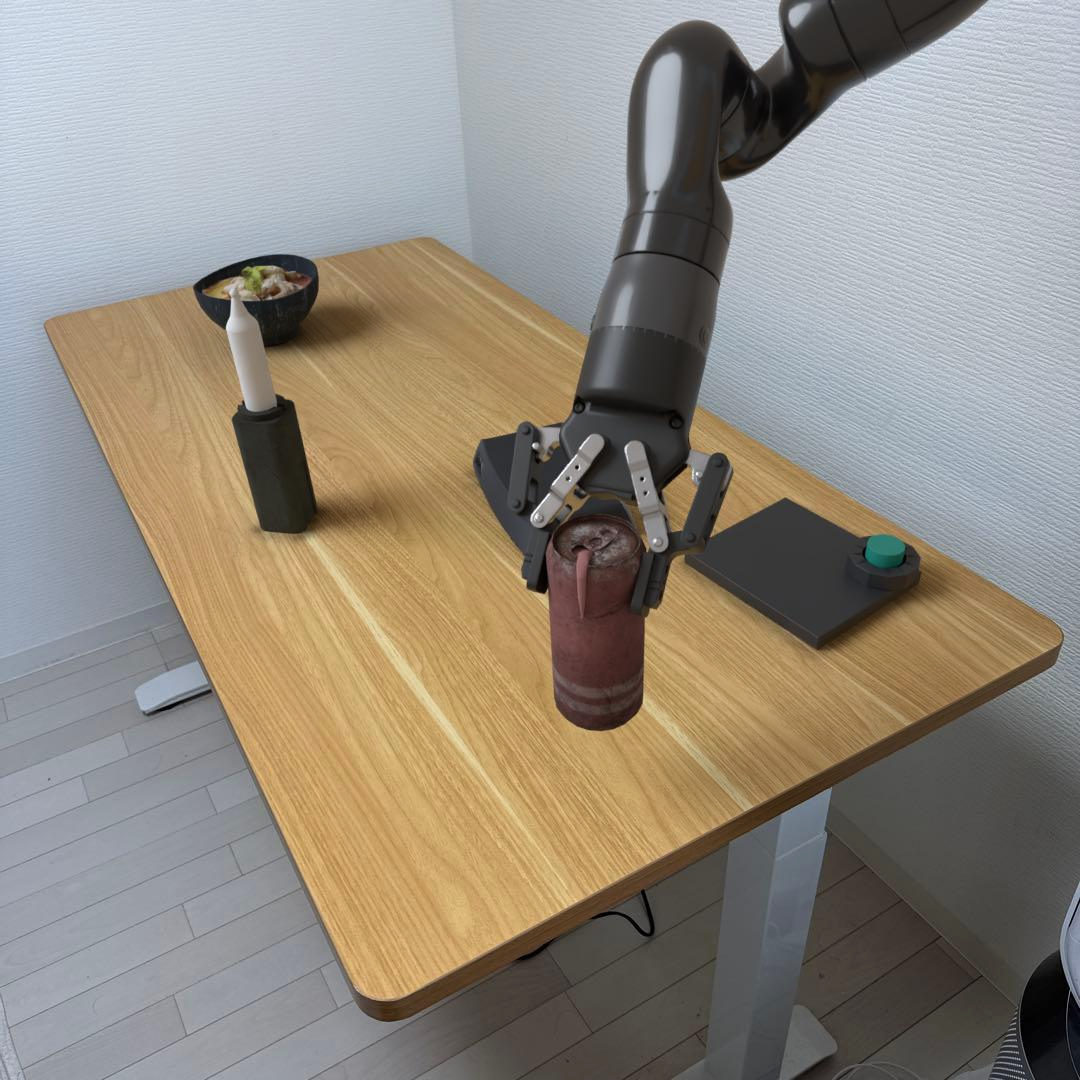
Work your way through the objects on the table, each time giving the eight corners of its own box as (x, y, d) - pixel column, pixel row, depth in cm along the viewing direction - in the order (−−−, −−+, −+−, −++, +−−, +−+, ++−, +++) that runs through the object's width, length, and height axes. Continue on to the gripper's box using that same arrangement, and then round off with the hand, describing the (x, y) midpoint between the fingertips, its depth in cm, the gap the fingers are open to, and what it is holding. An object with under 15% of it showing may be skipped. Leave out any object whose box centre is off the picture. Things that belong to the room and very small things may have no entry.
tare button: (909, 559, 86) (913, 545, 85) (887, 573, 84) (890, 559, 84) (880, 543, 88) (882, 529, 87) (857, 557, 87) (860, 543, 86)
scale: (928, 583, 87) (934, 557, 85) (821, 654, 80) (826, 626, 79) (787, 506, 98) (791, 481, 96) (683, 562, 91) (685, 536, 90)
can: (547, 733, 64) (537, 567, 56) (561, 667, 69) (553, 506, 61) (639, 741, 63) (641, 574, 55) (646, 674, 68) (649, 511, 60)
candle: (277, 503, 103) (220, 277, 88) (321, 506, 102) (271, 279, 88) (256, 530, 99) (193, 299, 84) (302, 534, 98) (246, 301, 84)
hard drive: (576, 443, 110) (575, 411, 108) (645, 534, 95) (645, 500, 93) (466, 467, 107) (463, 435, 105) (520, 565, 92) (517, 530, 90)
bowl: (183, 344, 138) (164, 277, 132) (272, 303, 149) (258, 240, 143) (264, 371, 130) (247, 300, 124) (352, 325, 141) (341, 258, 135)
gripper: (768, 380, 62) (709, 635, 60) (560, 352, 67) (501, 586, 65) (756, 336, 55) (689, 623, 53) (525, 308, 60) (457, 570, 58)
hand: (585, 602), depth 59 cm, fingers closed on can, 6 cm apart
